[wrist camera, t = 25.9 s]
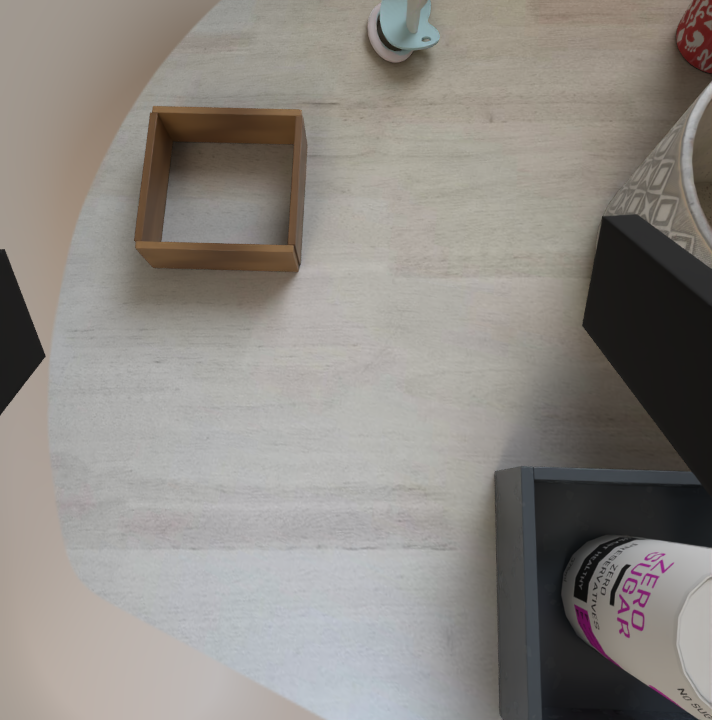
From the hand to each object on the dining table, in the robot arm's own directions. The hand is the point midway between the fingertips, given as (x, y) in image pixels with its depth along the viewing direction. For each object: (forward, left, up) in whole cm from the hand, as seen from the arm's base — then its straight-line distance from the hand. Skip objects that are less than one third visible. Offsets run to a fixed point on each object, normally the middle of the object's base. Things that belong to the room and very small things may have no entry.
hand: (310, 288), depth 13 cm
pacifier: (+4, +36, -33) cm, 49 cm away
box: (-10, +19, -33) cm, 39 cm away
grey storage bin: (+20, -11, -33) cm, 40 cm away
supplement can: (+20, -11, -32) cm, 39 cm away
